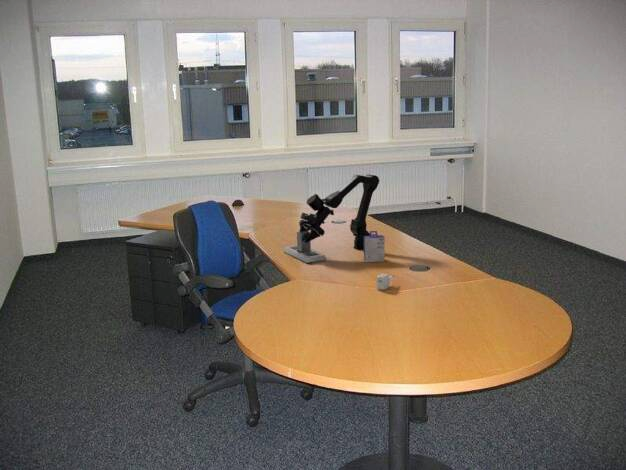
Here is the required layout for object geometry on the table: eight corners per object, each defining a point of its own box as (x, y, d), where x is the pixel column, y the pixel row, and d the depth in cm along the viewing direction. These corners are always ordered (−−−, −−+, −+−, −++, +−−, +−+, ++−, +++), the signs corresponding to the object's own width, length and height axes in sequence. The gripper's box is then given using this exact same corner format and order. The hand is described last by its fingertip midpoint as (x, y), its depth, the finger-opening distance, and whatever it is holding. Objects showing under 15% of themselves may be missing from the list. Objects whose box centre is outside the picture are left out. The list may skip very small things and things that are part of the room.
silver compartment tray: (284, 252, 317) (284, 247, 316) (301, 250, 321) (301, 244, 321) (306, 263, 294) (306, 257, 294) (325, 261, 299) (324, 255, 298)
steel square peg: (306, 254, 311) (305, 230, 309) (310, 256, 307) (310, 232, 304) (297, 255, 309) (296, 232, 306) (301, 257, 305) (301, 233, 302)
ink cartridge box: (383, 258, 300) (383, 230, 297) (385, 261, 295) (385, 232, 292) (363, 259, 300) (363, 230, 297) (365, 262, 294) (364, 233, 291)
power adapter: (385, 282, 262) (385, 269, 260) (395, 283, 259) (396, 270, 258) (374, 289, 252) (374, 275, 251) (385, 291, 250) (385, 277, 249)
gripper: (301, 204, 312) (282, 227, 310) (318, 209, 296) (298, 234, 294) (315, 217, 318) (297, 240, 315) (333, 223, 301) (313, 248, 299)
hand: (301, 240), depth 306 cm, fingers open, 9 cm apart
